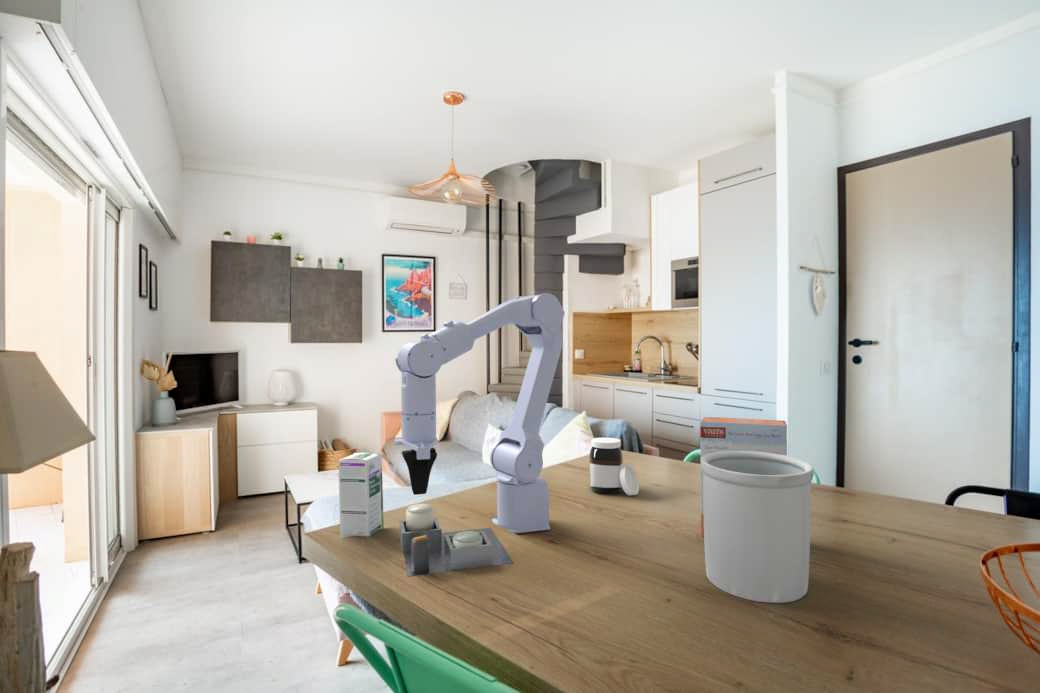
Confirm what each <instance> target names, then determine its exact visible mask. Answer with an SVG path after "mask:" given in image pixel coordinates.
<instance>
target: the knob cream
mask: <svg viewBox="0 0 1040 693" xmlns="http://www.w3.org/2000/svg"><path fill="white" fill-rule="evenodd" d="M434 511H435V510H434V507H433V506H432V505H431V504H427V503H416V504H412V505H409V506H407V508H406V509H405V520H406V530H407V531H410V532H411V531H421V530H430V529H433V528H434V514H435V513H434Z"/></svg>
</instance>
